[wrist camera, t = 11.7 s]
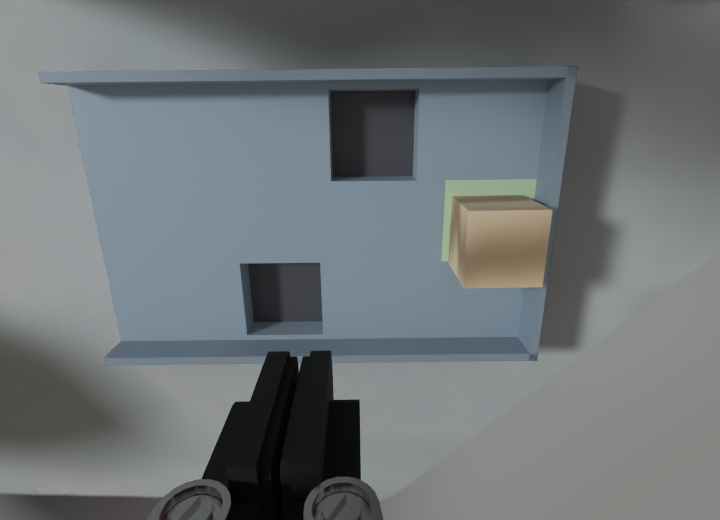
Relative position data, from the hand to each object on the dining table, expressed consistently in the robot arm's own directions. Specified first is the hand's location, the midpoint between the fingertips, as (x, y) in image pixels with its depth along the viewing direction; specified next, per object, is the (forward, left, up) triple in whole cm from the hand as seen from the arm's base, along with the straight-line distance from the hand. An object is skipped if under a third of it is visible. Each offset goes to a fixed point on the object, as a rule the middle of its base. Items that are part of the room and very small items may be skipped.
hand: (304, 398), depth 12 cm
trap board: (0, -1, -23) cm, 23 cm away
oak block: (+1, +11, -21) cm, 23 cm away
